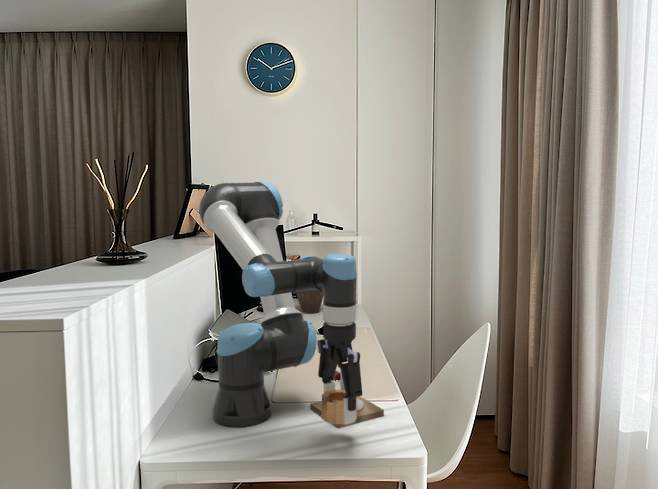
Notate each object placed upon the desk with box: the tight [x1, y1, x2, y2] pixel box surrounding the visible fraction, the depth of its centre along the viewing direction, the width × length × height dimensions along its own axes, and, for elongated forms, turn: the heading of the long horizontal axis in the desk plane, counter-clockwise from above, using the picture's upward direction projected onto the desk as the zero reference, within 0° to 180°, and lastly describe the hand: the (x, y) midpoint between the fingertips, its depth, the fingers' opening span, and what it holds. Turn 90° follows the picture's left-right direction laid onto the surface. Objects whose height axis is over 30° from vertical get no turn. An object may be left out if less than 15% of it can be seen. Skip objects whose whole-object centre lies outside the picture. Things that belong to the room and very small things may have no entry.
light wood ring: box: [321, 389, 357, 425], centre depth 138 cm, size 8×8×5 cm
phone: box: [317, 339, 321, 354], centre depth 213 cm, size 7×1×15 cm
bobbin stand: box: [309, 374, 385, 429], centre depth 154 cm, size 14×14×13 cm
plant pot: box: [295, 290, 323, 314], centre depth 266 cm, size 15×15×16 cm
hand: (339, 415), depth 138 cm, fingers closed on light wood ring, 8 cm apart
